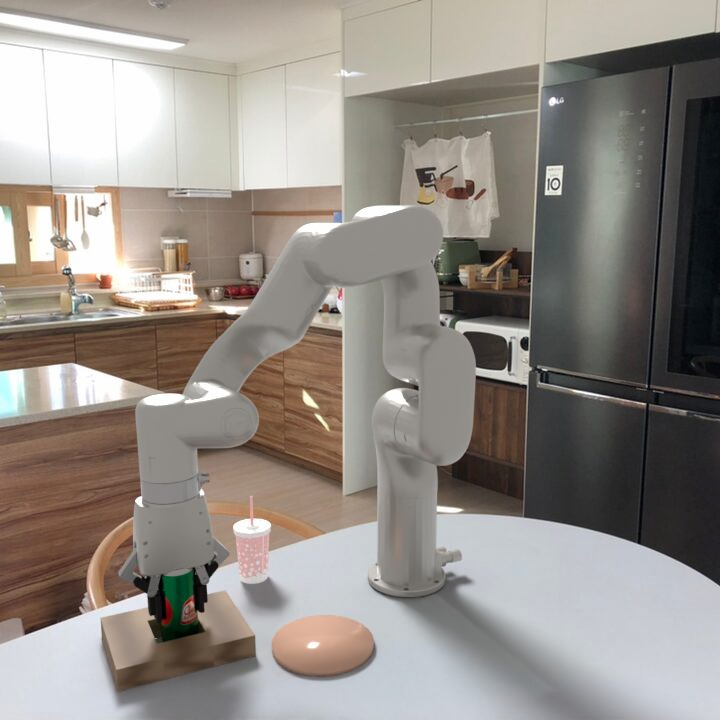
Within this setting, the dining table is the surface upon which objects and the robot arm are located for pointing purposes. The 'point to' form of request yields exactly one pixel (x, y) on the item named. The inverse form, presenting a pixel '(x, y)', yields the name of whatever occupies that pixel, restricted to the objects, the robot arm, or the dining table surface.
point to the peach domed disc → (322, 645)
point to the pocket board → (174, 643)
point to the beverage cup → (252, 548)
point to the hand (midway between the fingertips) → (178, 612)
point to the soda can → (178, 604)
